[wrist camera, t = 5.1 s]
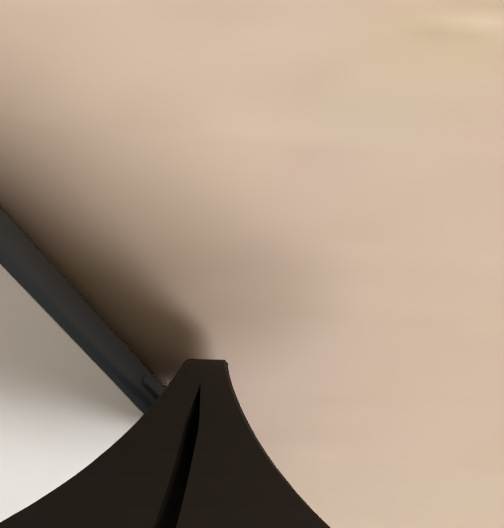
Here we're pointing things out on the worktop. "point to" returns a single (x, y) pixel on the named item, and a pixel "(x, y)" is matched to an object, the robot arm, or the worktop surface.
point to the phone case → (56, 377)
